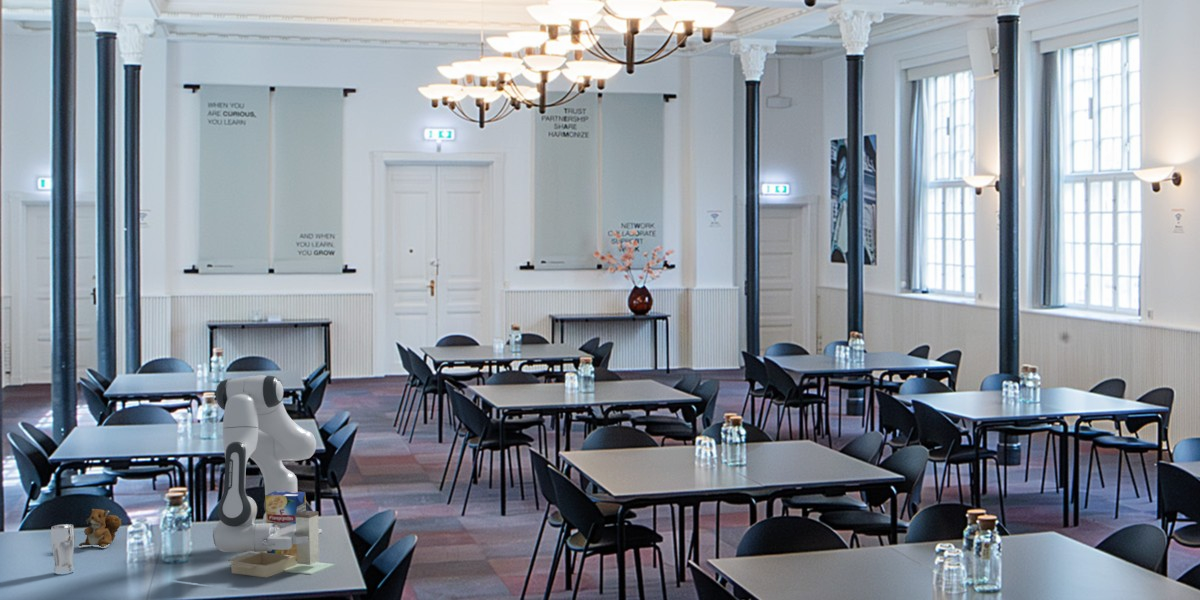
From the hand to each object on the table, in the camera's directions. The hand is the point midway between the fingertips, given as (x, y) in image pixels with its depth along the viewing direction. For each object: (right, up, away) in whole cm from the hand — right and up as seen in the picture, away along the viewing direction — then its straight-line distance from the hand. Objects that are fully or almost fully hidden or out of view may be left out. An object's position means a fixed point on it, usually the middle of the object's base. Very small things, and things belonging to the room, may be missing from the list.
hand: (310, 536), depth 401 cm
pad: (-1, -11, 0) cm, 11 cm away
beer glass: (-79, -12, +1) cm, 80 cm away
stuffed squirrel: (-81, -11, +37) cm, 90 cm away
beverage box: (-11, -11, +14) cm, 21 cm away
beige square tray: (-17, -11, -1) cm, 20 cm away
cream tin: (-1, -8, 0) cm, 8 cm away
